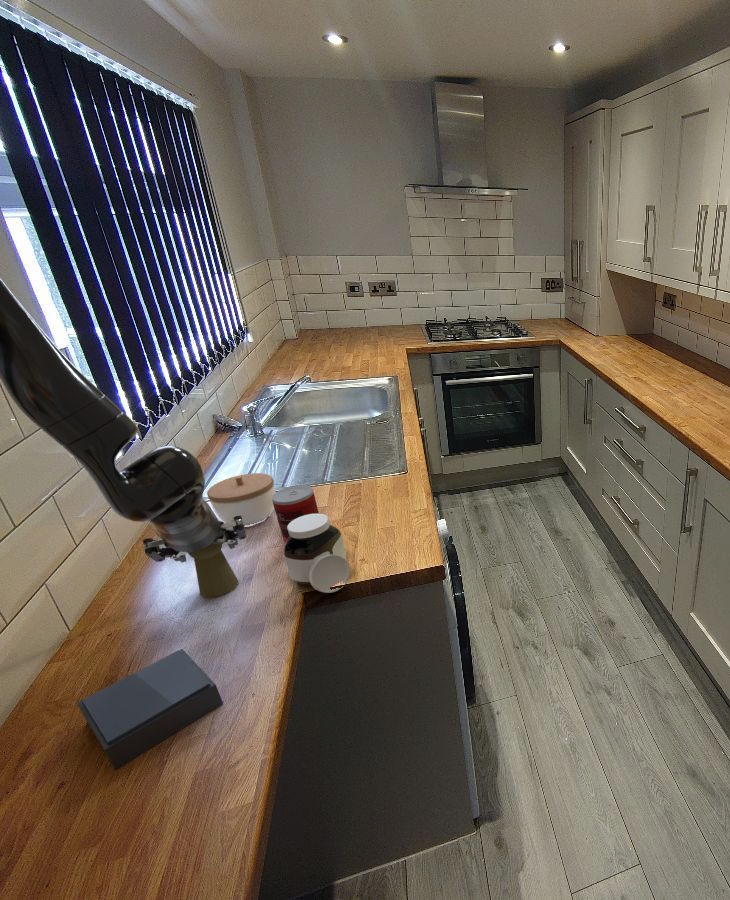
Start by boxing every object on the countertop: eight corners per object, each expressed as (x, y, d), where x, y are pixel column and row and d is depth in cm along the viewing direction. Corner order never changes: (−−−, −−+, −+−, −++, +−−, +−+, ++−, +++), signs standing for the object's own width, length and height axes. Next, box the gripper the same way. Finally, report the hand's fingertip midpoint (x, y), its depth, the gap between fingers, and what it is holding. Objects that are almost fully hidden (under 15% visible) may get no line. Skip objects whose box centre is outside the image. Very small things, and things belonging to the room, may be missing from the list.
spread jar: (320, 557, 107) (307, 507, 102) (371, 562, 105) (360, 512, 101) (277, 595, 96) (261, 541, 92) (333, 601, 94) (319, 546, 90)
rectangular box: (115, 770, 65) (103, 747, 63) (87, 722, 71) (75, 700, 70) (223, 703, 74) (215, 682, 72) (189, 666, 80) (181, 646, 79)
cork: (197, 587, 98) (178, 537, 94) (234, 573, 102) (218, 525, 98) (203, 602, 94) (184, 550, 90) (242, 587, 98) (225, 537, 94)
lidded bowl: (269, 531, 116) (256, 487, 112) (207, 537, 115) (191, 492, 110) (291, 504, 128) (279, 463, 124) (235, 509, 126) (221, 467, 122)
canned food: (318, 524, 119) (307, 481, 115) (328, 539, 113) (317, 494, 109) (280, 536, 115) (268, 491, 110) (288, 552, 109) (275, 506, 105)
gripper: (233, 488, 88) (248, 520, 101) (123, 513, 80) (154, 544, 94) (244, 529, 86) (257, 556, 99) (131, 558, 78) (162, 583, 92)
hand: (207, 550), depth 97 cm, fingers open, 7 cm apart
